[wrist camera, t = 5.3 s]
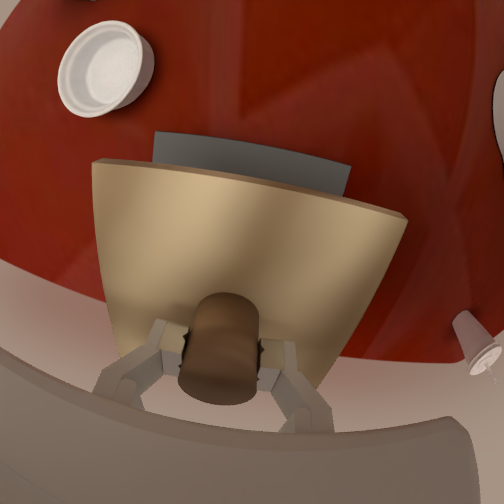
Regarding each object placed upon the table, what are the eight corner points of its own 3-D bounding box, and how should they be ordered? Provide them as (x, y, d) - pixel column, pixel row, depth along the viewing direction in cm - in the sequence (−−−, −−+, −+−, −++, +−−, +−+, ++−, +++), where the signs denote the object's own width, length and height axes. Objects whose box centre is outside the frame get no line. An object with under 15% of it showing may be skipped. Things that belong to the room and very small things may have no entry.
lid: (400, 212, 11) (459, 276, 6) (311, 385, 17) (316, 446, 13) (101, 158, 10) (25, 198, 6) (125, 354, 16) (102, 411, 12)
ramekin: (70, 74, 18) (44, 74, 15) (132, 14, 16) (111, 2, 12) (109, 131, 22) (85, 138, 18) (179, 72, 19) (162, 66, 16)
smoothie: (460, 302, 32) (503, 370, 19) (480, 305, 32) (520, 365, 20) (439, 332, 35) (472, 400, 23) (461, 333, 35) (493, 394, 23)
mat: (349, 165, 23) (351, 166, 23) (315, 272, 29) (316, 274, 29) (156, 131, 22) (155, 131, 22) (151, 244, 28) (150, 245, 28)
